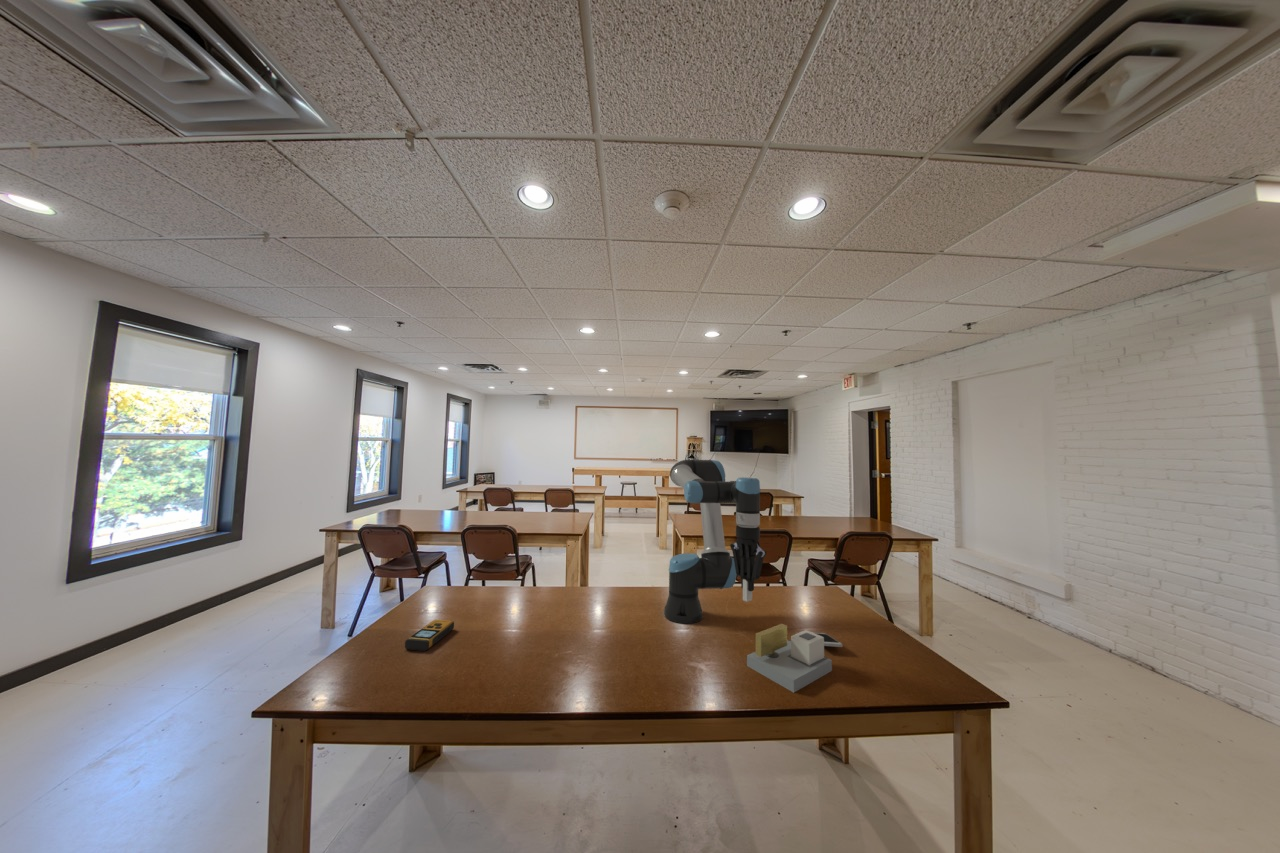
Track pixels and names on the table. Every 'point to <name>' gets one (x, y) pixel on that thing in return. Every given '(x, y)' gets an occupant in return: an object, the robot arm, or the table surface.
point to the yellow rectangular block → (771, 640)
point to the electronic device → (429, 635)
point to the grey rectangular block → (807, 647)
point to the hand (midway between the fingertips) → (747, 600)
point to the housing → (788, 668)
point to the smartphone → (829, 640)
